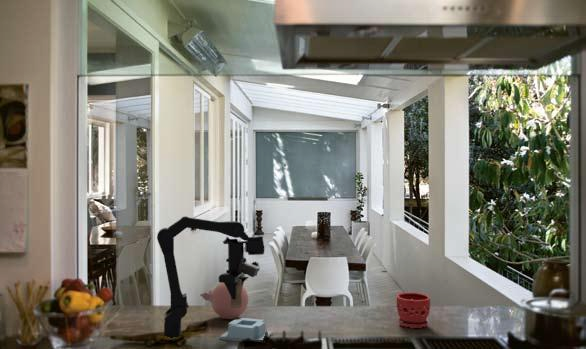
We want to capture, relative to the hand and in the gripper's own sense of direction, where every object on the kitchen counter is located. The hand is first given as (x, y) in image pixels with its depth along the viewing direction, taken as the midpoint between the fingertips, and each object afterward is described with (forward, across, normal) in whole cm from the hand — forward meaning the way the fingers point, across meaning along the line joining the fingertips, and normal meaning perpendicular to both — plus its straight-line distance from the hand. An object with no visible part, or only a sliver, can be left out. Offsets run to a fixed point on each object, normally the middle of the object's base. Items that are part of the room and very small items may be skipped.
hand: (236, 298), depth 186 cm
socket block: (+14, -1, -4) cm, 14 cm away
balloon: (+14, +22, +14) cm, 30 cm away
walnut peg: (+3, 0, 0) cm, 3 cm away
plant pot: (+15, +33, -62) cm, 72 cm away
